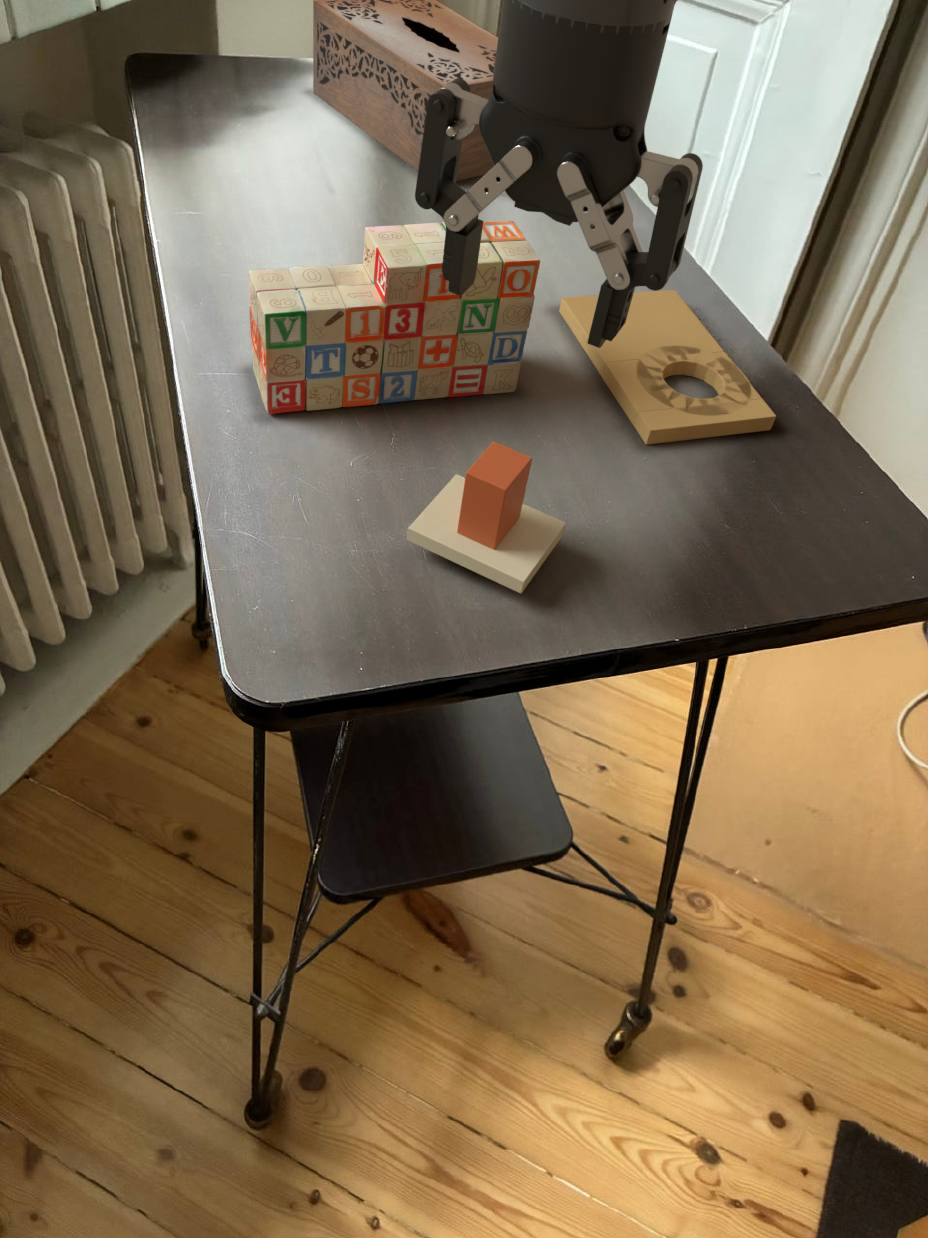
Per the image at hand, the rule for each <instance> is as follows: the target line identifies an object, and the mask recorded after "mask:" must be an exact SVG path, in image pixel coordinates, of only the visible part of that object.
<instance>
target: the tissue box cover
mask: <svg viewBox="0 0 928 1238" xmlns="http://www.w3.org/2000/svg"><path fill="white" fill-rule="evenodd" d="M312 2H313V4H312V5H313V6H312V7H313V8H312V9H313V10H312V12H313V13H312V14H313V16H312V17H313V19H312V20H313V21H312V23H313V24H312V25H313V26H312V28H313V29H312V32H313V35H312V37H313V39H312V40H313V41H312V43H313V44H312V59H313V60H312V93H313V94H314V95H315V96H317V97H318V98H319V99H320V100H322V101H323V102H324V103H326V104H327V105H328V106H330V107H332V108H333V109H334V110H336V111H337V112H338V113H340V114H341V115H342V116H343V117H345V118H346V119H347V120H349V121H350V122H351V123H353V124H354V125H355V126H356V127H358V128H359V129H361V130H362V131H363V132H364V133H366V134H367V135H369V136H370V137H371V138H373V139H374V140H375V141H377V142H378V143H380V144H381V146H383V147H385V148H386V149H387V150H389V151H390V152H391V153H392V154H394V155H395V156H397V157H398V158H399V159H401V160H402V161H404V163H406V164H407V165H409V166H410V167H411V168H413V169H414V170H415V171H417V172H418V169H419V162H420V155H421V148H422V140H423V133H424V126H425V119H426V112H427V105H428V99H429V97H430V96H431V95H432V94H433V93H435V92H436V91H438V90H439V89H441V88H442V87H444V86H445V85H447V84H448V83H450V82H451V81H453V80H454V79H457V78H460V79H463V80H465V81H466V82H467V83H468V85H469V87H470V91H471V93H473V94H475V95H478V96H480V97H483V98H485V99H488V100H489V99H490V97H491V94H492V91H493V74H494V66H495V58H496V51H497V43H498V36H497V35H496V34H494V33H492V32H491V31H489V30H487V29H485V28H484V27H482V26H481V25H479V24H477V23H476V22H474V21H472V20H471V19H469V18H467V17H466V16H463V15H462V14H460V13H459V12H457V11H455V10H453V9H452V8H450V7H449V6H448V5H445V4H443V3H442V2H440V1H439V0H313V1H312ZM493 167H494V164H493V161H492V159H491V157H490V154H489V152H488V150H487V147H486V145H485V142H484V140H483V138H482V135H481V133H480V129H479V125H478V124H475V126H474V129H473V130H472V132H471V133H469V134H468V135H467V136H465V137H464V138H463V142H462V148H461V153H460V159H459V165H458V171H457V177H456V182H459V181H463V180H468V179H472V178H477V177H481V176H482V177H483V176H484V175H485V174H486V173H487V172H488V171H489V170H491V169H492V168H493Z"/></svg>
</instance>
